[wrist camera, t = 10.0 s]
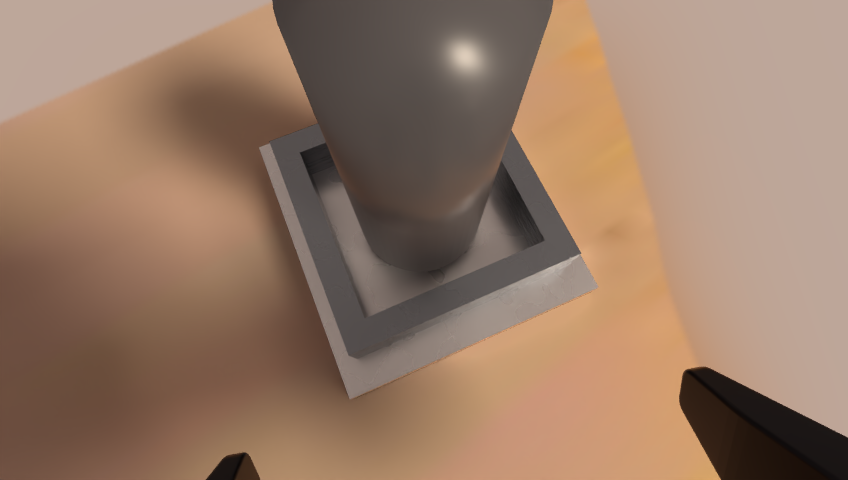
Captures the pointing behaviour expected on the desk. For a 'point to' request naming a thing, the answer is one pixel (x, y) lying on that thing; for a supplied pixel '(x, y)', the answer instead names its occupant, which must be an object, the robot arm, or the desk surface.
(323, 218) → the square tray
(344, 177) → the grey domed cylinder
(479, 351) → the desk surface
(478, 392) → the desk surface
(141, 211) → the desk surface
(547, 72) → the desk surface
